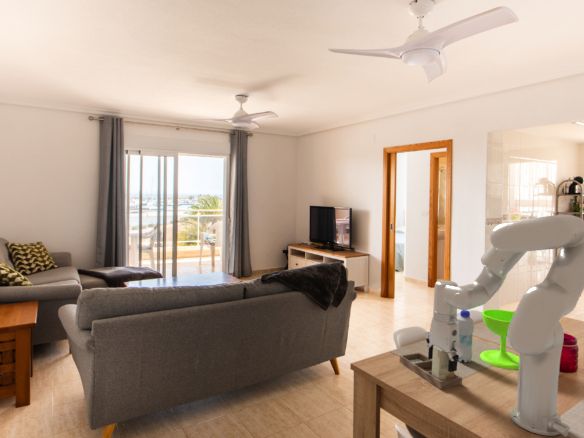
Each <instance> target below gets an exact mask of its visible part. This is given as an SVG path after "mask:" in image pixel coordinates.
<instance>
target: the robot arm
mask: <svg viewBox="0 0 584 438" xmlns="http://www.w3.org/2000/svg"><path fill="white" fill-rule="evenodd" d="M489 241H490V244H491V245H490V246H489V247H488V248H487V250H486V251H485V252H484V253H483V254H482V256H481V258H480V261H481V264H482V266H483V269H481V272H480V273H479V275H478V276H477V277H476V278H475V279H474V281H473V282H472V283H469V284H465V285H458V283H456V282H454V281H452V280H446V279H440V280H437V281H436V282H435V283H434V291H433V294H434V295H433V309H432V310H433V313H432V318H431V322H430V327H429V331H427V332H425V333H424V335H425V338H426V339H425V341H426V343H427V348H428V354H427V355H428V356H427V357H428V359H432V358H433V346H436V347H438V348H440V349H441V350H443V351H444V352H446V353H448V355H449V358H450V360H449V362H448V371H449V372H453V371H454V372H456V371H457V370H458V361H459V359H460V358H461V357H462V355H463V353H464V351H463V350H462V349H461V347H460V337H459V327H458V324H457V323H456V322H457V321H458V319H457V317H458V315H457V314H458V310H460V311H462V310H467V311H469V310H472V309H474V308H477V307H481V306H484V305H485V304H487V303H488V302H489V301H490V300H491V299H492V298H493V297H494V296H495V294H496V293H497V292H499V290H500V288H501V287H502V286H503V284H504V282H505V280H506V278H507V275H508V274H509V273H510V272H511V270H512V269H513V268H514V267H515V266H516V264H518V262H520V260H521V259H522V258H523V257H524V256H525V254H526V253H527V252H534V251H546V250H555V249H559V252H558V253H557V256H555V258H554V259H553V261H552V263H551V266H550V268H549V270H548V272H547V275H546V276H545V278H544V279H543V281H542V282H540V283H536V284H535V285H533V286H531V287H530V288H528V289H527V290H526V291H525V293H524V294H523V295H522V296H521V299H520V301H519V304H518V305H517V308H516V310H515V311H514V312H515V313H514V316H513V318H512V320H511V322H510V324H509V327H508V331H507V337H506V338H507V341H508V343H509V346H511V348H512V349H514V351H515V352H516V353H518V354H519V357H520V358H519V369H518V373H517V374H518V377H517V392H516V393H517V396H516V397H517V398H516V406H515V407H513V408H512V409H511V410H510V412H509V413H510V414H509V415H510V419H511V420H512V422H513V423H515V424H516V425H517V426H519V428H522V429H523V430H526V431H529V432H530V433H533V434H536V435H541V436H549V437H551V436H552V437H555V436H557V435H562V436H564V437H568V436H569V433H570V432H569V431H570V425H568V424H567V423H564V422H562V420H561V414H560V413H558V398H559V397H558V396H559V395H558V393H559V392H558V391H559V378H560V377H559V376H560V366H561V365H560V364H561V356H562V350H563V346H564V337H565V336H564V335H565V334H564V333H565V331H564V328H563V326H562V324H561V322H560V320H561V319H562V318H564V317H565V316H567V315H570V314H571V313H572V312H573V311H574V310H575V308H576V306H577V304H578V302H579V300H580V297H581V295H582V293H583V291H584V219H583V218H581V217H579V216H576V215H572V214H557V215H546V216H541V217H536V218H534V217H533V218H528V219H523V220H515V221H508V222H502V223H500V224H497V225H496V226H495V227H494V228H493V229H492V231H491V233H490V235H489ZM451 349H452V351H450V350H451ZM452 353H453V354H454V356H452Z"/></svg>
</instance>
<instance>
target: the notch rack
mask: <svg viewBox="0 0 584 438" xmlns="http://www.w3.org/2000/svg"><path fill="white" fill-rule="evenodd" d="M415 359H420V360H422V362H417V363H412V362H411V361H409V360H415ZM399 363H400V364H402V365H403V366H405V367H406V368H408V369H409V370H410V371H412V372H414V373H415V374H417V375H418V376H419V377H421V378H422V379H424V380H425V381H427V382H428V383H430V384H431V385H433V386H434V387H436V388H438V390H444V389H448V388H453V387H458V386H463V377H462V376H460V375H459V374H456V373H455V372H454V378H452V379H447V380H442V381H440V380H438V379H437V378H435V377H434V376H432V370H428V371H426V370H424V369H430V368H432V359H428V356H427V355H425V354H423V353H422V352H420V351H419V352H414V353H408V354H402V355H399Z"/></svg>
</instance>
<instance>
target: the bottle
mask: <svg viewBox="0 0 584 438" xmlns="http://www.w3.org/2000/svg"><path fill="white" fill-rule="evenodd" d="M457 319H458V321H457V322H456V323H457V324H458V327H459V337H460V347H461V349H462V350H463V351H464V353H463V355H462V357H461V358H460V359H459V360H458V362H460V363H462V361H463V363H465V364H467V363H470V362H471V361H472V358H473V333H474V329H475V327H474V319H473V318H472V317H471V312H470V311H469V310H460V316H457Z"/></svg>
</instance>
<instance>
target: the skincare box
mask: <svg viewBox="0 0 584 438" xmlns="http://www.w3.org/2000/svg"><path fill="white" fill-rule="evenodd" d="M450 351H452V349H451V350H450ZM452 356H454V354H453V353H452ZM449 360H450V358H449V355H448V353H446V352H444V351H443V350H441V349H440V348H438V347H436V346H433V358H432V367H431V371H432V376H434V377H435V378H437V379H438V380H440V381H442V380H447V379H452V378H454V373H455V371H453V372H449V371H448V362H449Z"/></svg>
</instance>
